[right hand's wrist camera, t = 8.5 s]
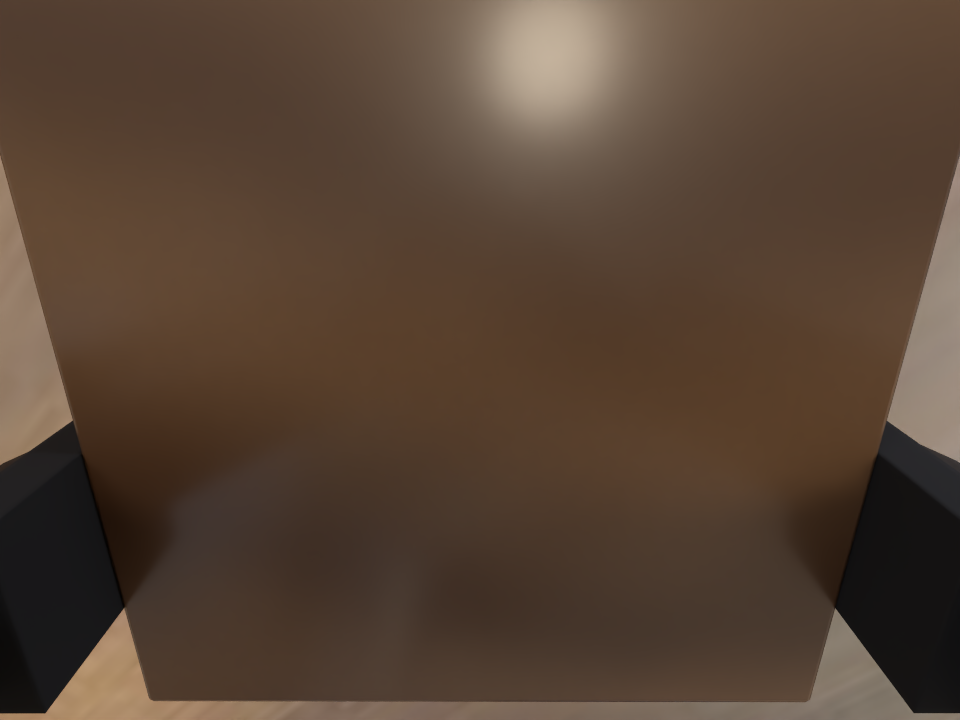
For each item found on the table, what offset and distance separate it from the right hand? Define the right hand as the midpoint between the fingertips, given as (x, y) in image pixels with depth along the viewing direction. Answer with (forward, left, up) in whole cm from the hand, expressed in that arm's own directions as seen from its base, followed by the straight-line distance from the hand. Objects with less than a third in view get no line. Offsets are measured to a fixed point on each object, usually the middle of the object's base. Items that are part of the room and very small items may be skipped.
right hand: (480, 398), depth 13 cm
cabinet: (+4, +4, -3) cm, 7 cm away
